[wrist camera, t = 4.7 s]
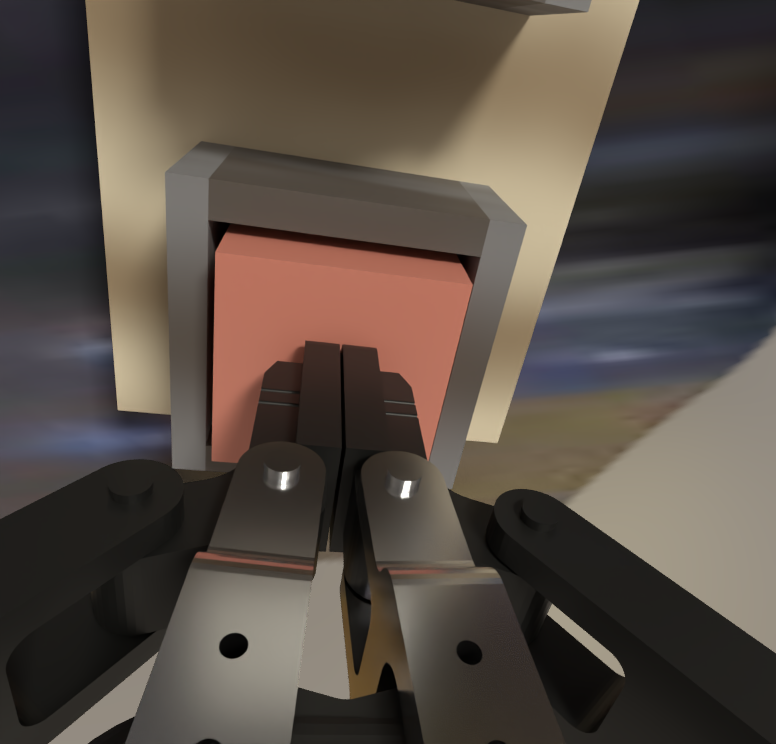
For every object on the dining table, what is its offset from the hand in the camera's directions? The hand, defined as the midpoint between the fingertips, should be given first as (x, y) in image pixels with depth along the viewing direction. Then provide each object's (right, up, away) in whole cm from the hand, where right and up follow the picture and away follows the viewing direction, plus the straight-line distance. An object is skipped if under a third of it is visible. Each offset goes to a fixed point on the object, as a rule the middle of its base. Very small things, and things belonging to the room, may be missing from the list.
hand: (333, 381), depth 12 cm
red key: (0, +2, +3) cm, 3 cm away
